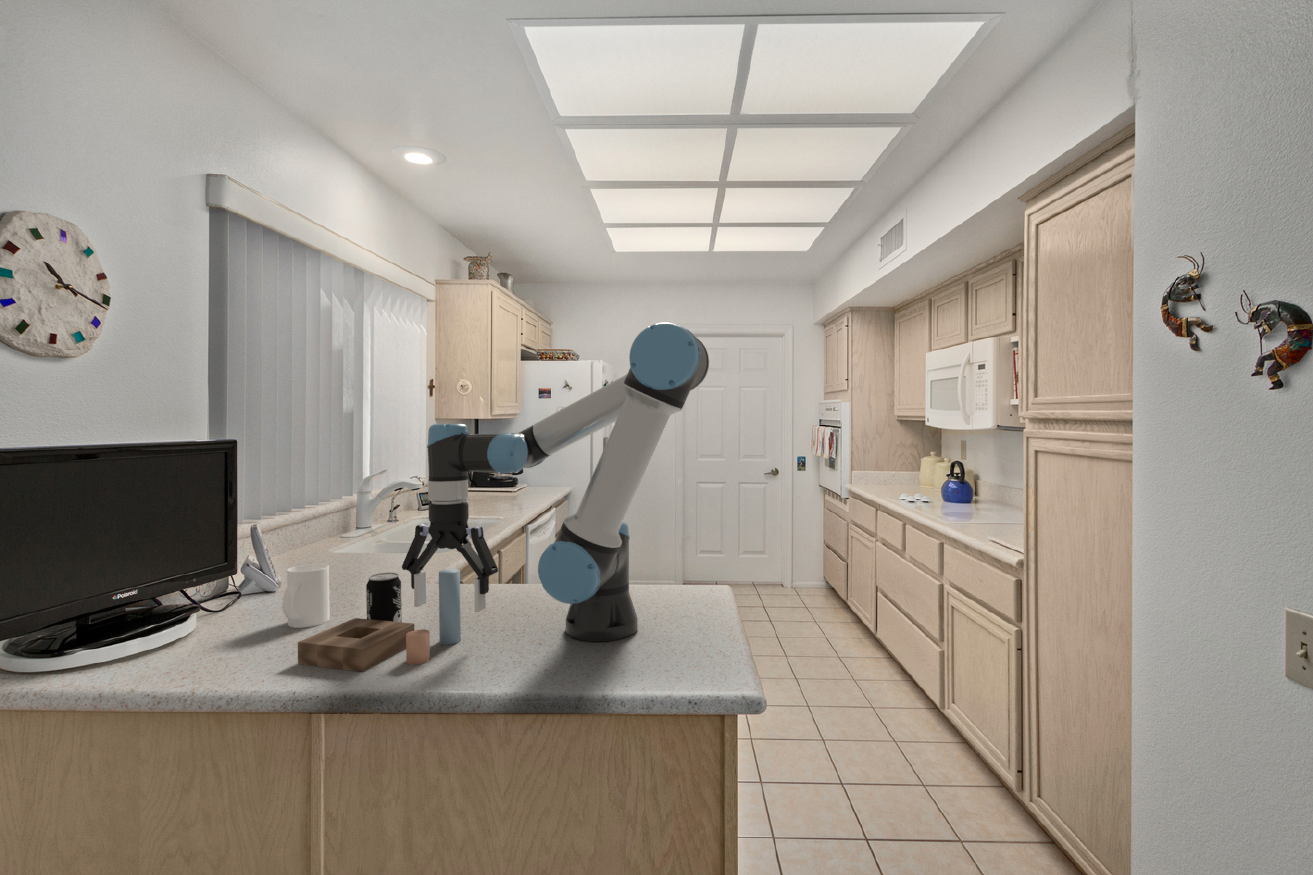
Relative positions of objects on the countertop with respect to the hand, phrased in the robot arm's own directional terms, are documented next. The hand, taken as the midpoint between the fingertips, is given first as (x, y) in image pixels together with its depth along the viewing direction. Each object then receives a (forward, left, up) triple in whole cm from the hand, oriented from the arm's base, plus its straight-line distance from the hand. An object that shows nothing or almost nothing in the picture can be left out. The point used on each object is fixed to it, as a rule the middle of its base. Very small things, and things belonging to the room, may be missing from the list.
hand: (449, 607), depth 120 cm
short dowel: (0, +10, -7) cm, 12 cm away
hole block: (+13, +10, -7) cm, 18 cm away
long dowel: (0, 0, -7) cm, 7 cm away
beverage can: (+16, -1, -7) cm, 17 cm away
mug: (+37, -1, -7) cm, 38 cm away
